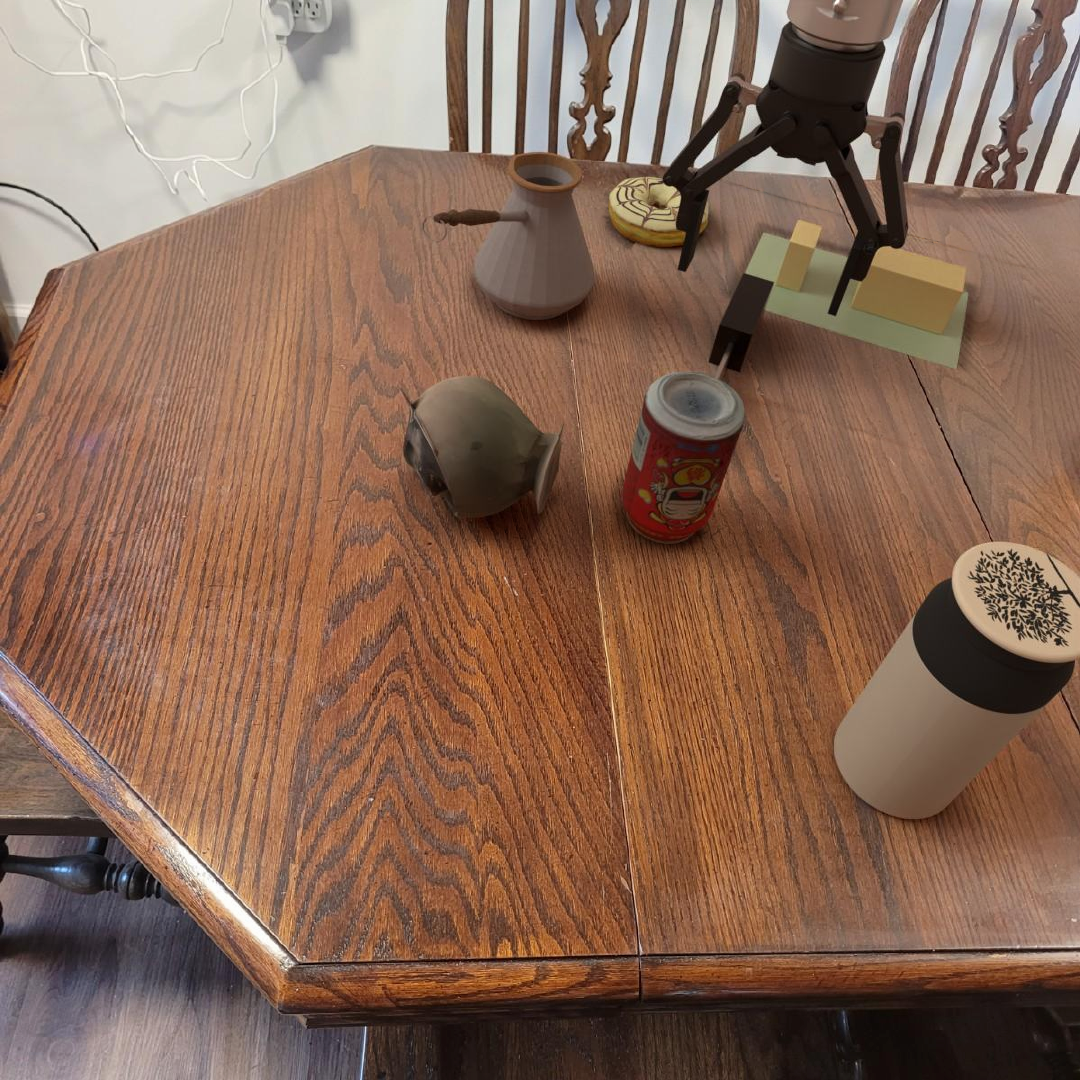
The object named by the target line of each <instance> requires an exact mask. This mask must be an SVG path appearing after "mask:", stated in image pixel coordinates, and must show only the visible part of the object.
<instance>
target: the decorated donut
mask: <svg viewBox="0 0 1080 1080" xmlns="http://www.w3.org/2000/svg"><path fill="white" fill-rule="evenodd" d="M608 196H609V197H608V198H609V199H608V211H609V212H608V213H609V217H610V220H611V223H612V225H613V227H614V228H615V230H616V231H617V232H618V233H619V234H620V235H621V236H623V237H624V238H625V239H627V240H629V241H631V242H633V243H636V242H638V243H640V244H642V245H644V246H645V245H646V246H650V247H655V248H671V247H678V246H683V243H684V239H685V234H686V232H684V231H680V230H677V229H676V219H677V214H678V210H679V205H680V200H681V194H680V192H679V191H678V190H677V189H676V188H674V187H673V186H671V187H669V186H666V185H665V184H664V183H663V178H662V177H661V178H659V177H654V176H640V177H639V176H638V177H630V178H626V179H624V180H623V181H621V182H619V184H617V185H616V186H615V187H614V189H613V190H612V191H611V192H610V193H609V195H608ZM709 206H710V204H709V203H708V202H707V203H706V207H705V211H704V215H703V220H702V224H701V228H700V232H699V235H700V234H701V233H702V232H703V231H704V230H705V228H706V227H707V225H708V222H709V218H708V217H709V213H710V211H709Z"/></svg>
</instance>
